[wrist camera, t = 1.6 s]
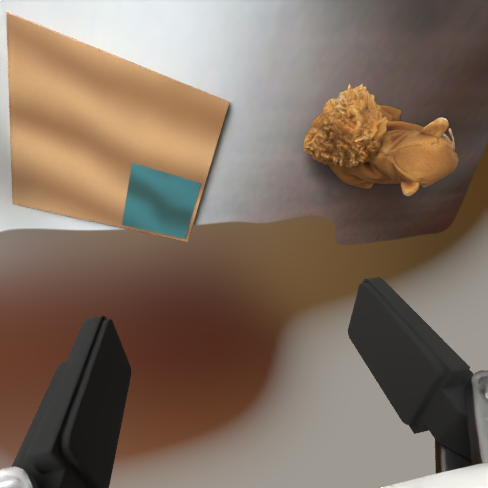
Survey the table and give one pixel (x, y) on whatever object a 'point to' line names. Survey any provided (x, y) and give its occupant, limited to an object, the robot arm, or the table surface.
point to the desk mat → (105, 135)
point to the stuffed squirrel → (379, 144)
